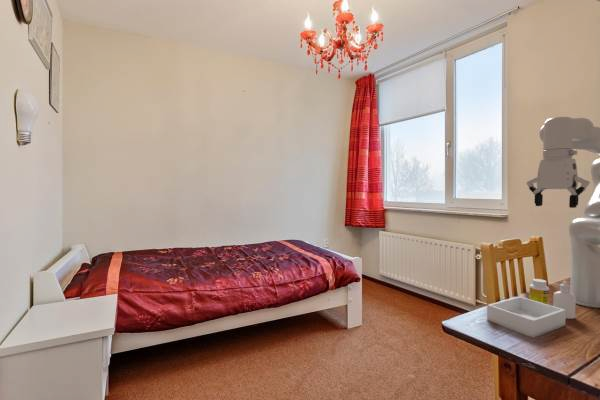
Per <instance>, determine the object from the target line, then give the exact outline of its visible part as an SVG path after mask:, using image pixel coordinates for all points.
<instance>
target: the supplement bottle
mask: <svg viewBox="0 0 600 400" xmlns="http://www.w3.org/2000/svg"><path fill="white" fill-rule="evenodd" d="M547 285H548V284H547V280H545V279H541V278H533V279H532V283H530V284H529V291H528V292H529V293H528V294H529V295H528V297H529V298H528V299H530V300H534V301H537V302H541V303H544V304H547V305H550V304H549V303H550V302H549V301H550V287H549V286H547Z"/></svg>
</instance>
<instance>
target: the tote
mask: <svg viewBox="0 0 600 400" xmlns="http://www.w3.org/2000/svg"><path fill="white" fill-rule="evenodd" d="M486 307H487V310H486V311H487V312H486V320H487V321H489V322H492V323H494V324H497V325H499V326H501V327H504V328H507V329H509V330H512V331H514V332H517V333H520V334H523V335H524V336H527V337H530V338H536V337H540V336H541V335H545V334H546V333H550V332H552V331H555V330H557V329H560V328H563V327H565V326H566V319H567V318H566V310H564V309H561V308H558V307H554V306H553V305H552V304H549V305H547V304H544V303H541V302H537V301H534V300H530V299H529V298H527V297H524V296H520V295H519V296H516V297H515V296H514V297H511V298H508V299H503V300H501V301H497V302H496V301H495V302H494V303H493V302H492V303H488V304H487V306H486Z"/></svg>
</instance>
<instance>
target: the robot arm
mask: <svg viewBox="0 0 600 400" xmlns="http://www.w3.org/2000/svg"><path fill="white" fill-rule="evenodd" d="M543 124H544V125H542V127H541V128H540V130H539V138H540V140H541V142H542V145H543V147H542V159H541V160H540V162H539V163H538V164H539V165H538V169H537V176H536V177H535V178H532V179H530V180H528V181H526V185H527V187H528V189H529V190H530V192H531V193H532V194H534V204H535V207H542V206H543V198H544V197H543V196H544V195H543V194H542V193H543V192H544V191H545V190H567V191H569V192H570V195H569V203H568V205H569V208H570V209H575V208H577V206H579V196H580V195H581V194H582V193H583V192H585V191H586V189H587V188H588V187H589V186H590V183H591V182H590V181H589V180H587V179H585V178H582V177H580V176H579V175H578V166H577V162H576V158H573V156H574V155H575V156H577V155H578V150H579V151H580V150H584V151H586V152H587V151H588V152H589V153H593V154H595V155H599V156H600V127H599V126H594V124H593V122H592V121H591V120H590V119H588V118H586V117H575V118H571V117H570V116H556V117H551V118H547V119H546V120H545V122H544V123H543ZM590 174H591V180H592V182H593V187H594V189H593V192H592V194H591V196H590V198H589V199H588V202H587V203H586V205H585V208H584V216H585V217H577V218H575V219H573V220H571V222H569V225H568V231H569V238H570V243H571V245H570V246H571V259H570V284H569V286H570V290H569V292H570V293H572V294H574V295H575V297H576V305H580V306H583V307H589V308H594V309H595V308H596V309H598V308H599V309H600V158H597V159H595V160H594V161H593V162H592V163H591V166H590ZM535 183H536V187H535ZM579 183H580V184H581V185H580V186H579Z"/></svg>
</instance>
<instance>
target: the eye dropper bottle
mask: <svg viewBox="0 0 600 400" xmlns="http://www.w3.org/2000/svg"><path fill="white" fill-rule="evenodd" d="M552 301H553V302H552V306H554V307H558V308H561V309H564V310H566V318H565V319H566V320H567V319H568V320H569V319H572V320H573V319H575V318H576V305H577V304H576V297H575V295H574V294H572V293H570V284H568V282H567V280H563V281H562V283H560V284H559V290H558V291H555V292H553V300H552Z"/></svg>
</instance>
